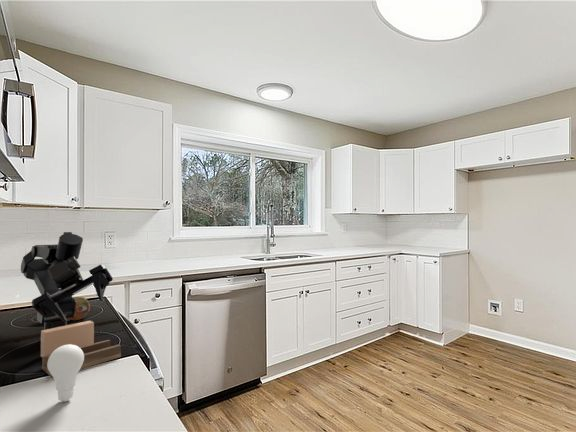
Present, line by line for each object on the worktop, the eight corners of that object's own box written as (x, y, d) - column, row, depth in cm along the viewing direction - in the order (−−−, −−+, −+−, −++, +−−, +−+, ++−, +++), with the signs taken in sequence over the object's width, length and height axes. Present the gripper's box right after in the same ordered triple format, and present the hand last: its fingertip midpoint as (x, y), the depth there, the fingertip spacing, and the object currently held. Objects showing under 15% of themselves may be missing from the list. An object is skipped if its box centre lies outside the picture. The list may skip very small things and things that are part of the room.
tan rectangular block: (40, 357, 90) (41, 330, 90) (89, 344, 99) (89, 320, 99) (44, 359, 88) (44, 332, 88) (93, 346, 97) (94, 322, 97)
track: (41, 368, 82) (42, 356, 82) (108, 350, 94) (108, 339, 94) (52, 377, 77) (52, 364, 77) (120, 356, 89) (121, 345, 89)
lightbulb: (89, 393, 70) (90, 339, 70) (71, 409, 64) (72, 350, 64) (59, 393, 70) (60, 340, 70) (39, 409, 64) (39, 351, 64)
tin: (41, 323, 121) (41, 299, 121) (45, 320, 124) (45, 297, 124) (88, 319, 125) (88, 296, 125) (90, 317, 128) (91, 295, 128)
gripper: (14, 274, 87) (26, 315, 78) (88, 238, 95) (106, 272, 87) (37, 297, 95) (51, 337, 86) (104, 263, 103) (122, 296, 94)
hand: (83, 310), depth 88 cm, fingers open, 9 cm apart
